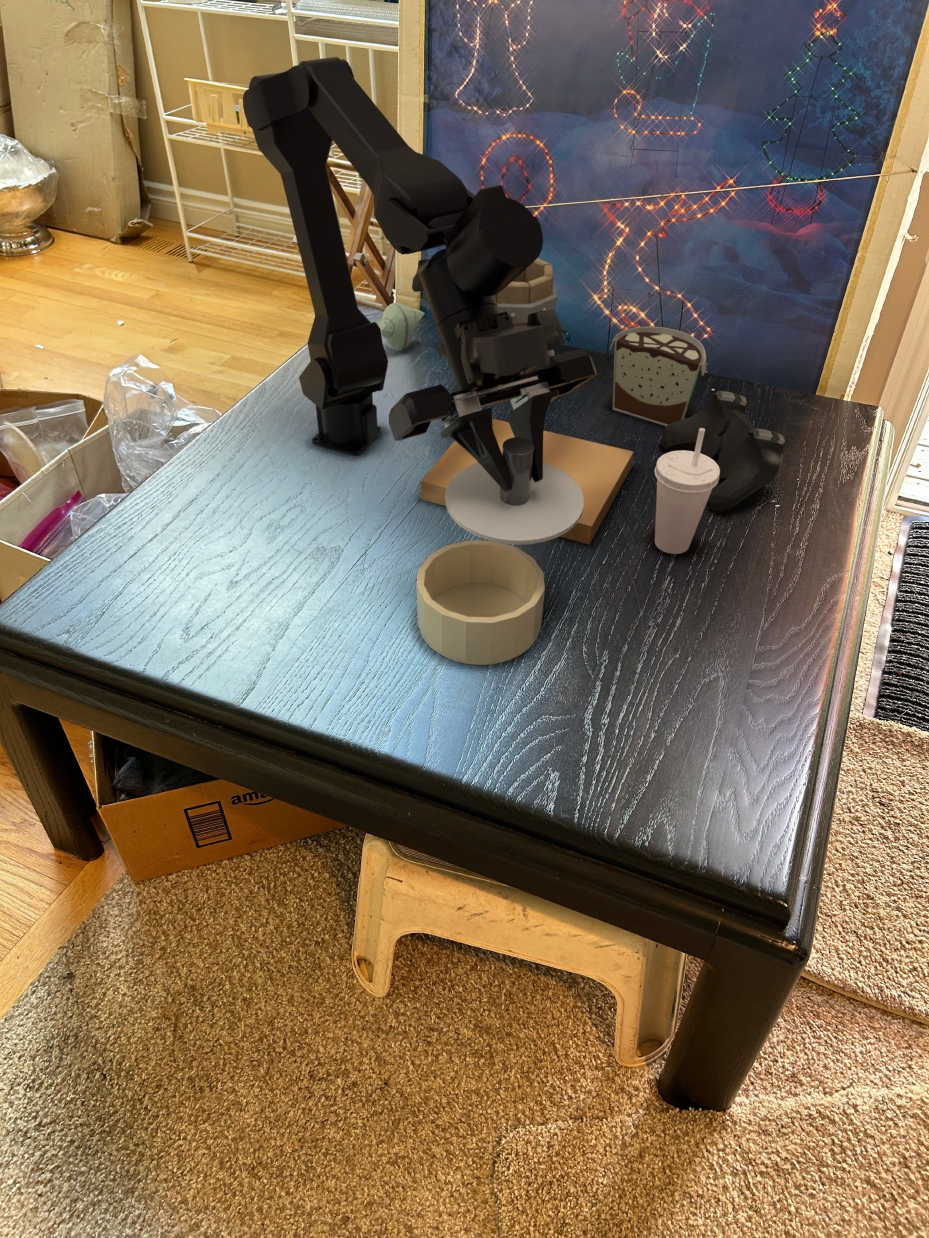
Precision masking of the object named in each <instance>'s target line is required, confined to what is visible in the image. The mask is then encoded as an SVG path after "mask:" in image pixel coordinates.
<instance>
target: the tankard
mask: <svg viewBox="0 0 929 1238" xmlns="http://www.w3.org/2000/svg"><path fill="white" fill-rule="evenodd" d="M494 297H495V300H496V303H497V306H498V309H499V312H500V313H502V312H507V313H508V315H509V316H510V317H511V319H512V322H513V325H514V326H515V327H519V326H524V325H527V321H528V315H529V314H530V313H534V312H539V311H543V310H549V309H554V310H555V311H556V307H557V300H558V295H557V290H556V282H555V281H554V268H553V265H552V264H551V263H550V262H548V261H545V260H543V259H540V258H539V257H538V258H537V259H536V260H535V261H534V262H533V263H532V264H531V265H530V266H529V267H528V268H527V269H525V270H524V271H523V272H522V273H521V274H520V275H519V276H518V277H517V278H515V279H514V280H513V281H512V282H511V283H510V284H509V285H508V286H507V287H506V288H504V289H503V290H502V291H501V292H499V293H498V294H496V295H494ZM554 355H555V351H554V349H553V350H549V351H548V356H549V357H550V356H554ZM536 367H537V366H532V367H529V368H528V369H527V370H523V371H521V372H520V375H522V374H526V373H529V372H530V371H532V370H533V369H534V368H536ZM506 390H507V389H506ZM506 390H505V391H506Z"/></svg>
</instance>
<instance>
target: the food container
mask: <svg viewBox="0 0 929 1238" xmlns="http://www.w3.org/2000/svg"><path fill="white" fill-rule="evenodd" d="M613 349H614V352H613V353H614V355H613V383H612V384H613V385H612V386H613V387H612V411H616V412H618V413H622V414H625V415H628V416H631V417H635V418H637V419H640V420H641V419H642V420H644V421H647V422H651V423H654V424H657V425H660V426H663V427H666V426H667V425H668V424H670V423H673V422H676V421H679V420H683V419H686V416H687V413H688V410H689V406H690V404H691V400H692V397H693V394H694V391H695V388H696V384H697V381H698V378H699V375H700V372H701V376H702V377H703V376H704V375H705V374H706V371H707V353H706V351H705V350H706V349H705V347H704V345H703V343H701V341H700V340H698V339H697V338H696V337H695V336H693V335H690V334H688V333H686V332H684V331H680V330H677V329H673V328H670V327H664V326H663V327H662V326H636V327H631V328H627V329H625V330H621V331H620V332H618V333H617V334H615V336H614V338H613V339H612V341H611V345H610V348H609V351H612V350H613Z"/></svg>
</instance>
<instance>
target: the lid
mask: <svg viewBox="0 0 929 1238" xmlns="http://www.w3.org/2000/svg"><path fill="white" fill-rule="evenodd" d="M502 455H503V458H504V461H505V463H506V466H507V468H508V471H509V474H510V478H511V483H512V487H513V488H512V490H510V491H507V492H505V491H504V490H503V489H502V488H501V487H500V486H499V485H498V484H497V483H496V481H495V480H494V479H493V478H492V477H491V476H490V475H489V474H488V473H487V471H486V470H485V469H484V468H483V467H482V466H481V465H480V464H479V463H475V464H473V465H470V466H468V467H466V468H464V469H463V470H461V471H460V472H458V473H457V474H456V475H455V476H454V477H453V478H452V480H451V481H450V482H449V484H448V486H447V489H446V493H445V503H446V506H445V507H446V510H447V513H448V514H449V516H450V518H451V519H452V520H453V522H455V523H456V524H457V525H458V526H459V527H460V528H462V529H463V530H464V531H466V532H467V533H469V534H471V535H472V536H475V537H478V538H481V539H483V540H485V541H493V542H498V543H504V544H507V545H517V546H521V545H534V544H540V543H544V542H548V541H550V540H554V539H557V538H560V537H559V536H561V535H563V534H565V533H566V532H568V531H569V530H570V529H572V528H573V527H574V526H575V525H576V524H577V522H578V521H579V519H580V518H581V516H582V513H583V508H584V497H583V494H582V491H581V489H580V487H579V486H578V484H577V483H576V482H575V481H574V480H573V479H572V478H571V477H570V476H569V475H567V474H566V473H565V472H563V471H561V470H560V469H558V468H556V467H554V466H551V465H549V464H546V463H543V479H542V480H541V481H539V482H534V480H533V479H532V467H533V456H534V444H533V443H532V442H531V441H530V440H528V439H525V438H521V437H514V438H509V439H507V440H506V441H504V443H503V445H502Z"/></svg>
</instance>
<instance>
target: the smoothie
mask: <svg viewBox="0 0 929 1238" xmlns="http://www.w3.org/2000/svg"><path fill="white" fill-rule="evenodd" d="M704 432H705V429H704V428H700V429H699V433H698V437H697V442H696V447H695V448H694V451H692V450H682V451H672V452H669V451H668V452H666V453H664V454H662V455H660V456H659V458H658V459H657V460H656V465H655V468H654V476H655V477H656V479H657V481H656V503H655V506H656V507H655V522H654V523H655V524H654V525H655V526H654V527H655V528H654V529H655V530H654V544H655V547H656V548H657V549H658V550H660V551H661V552H663V553H666V554H670V555H679V554H683V553H685V552H687V551H688V550H689V548H690V546H691V544H692V541H693V538H694V537H695V534H696V531H697V529H698V526H699V523H700V520H701V518H702V516H703V513H704V511H705V508H706V506H707V503H708V498H709V496H710V493H711V491H712V490H713V489H714V488H716V487H717V485H718V484H719V480H720V477H719V474H720V469H719V466H718V465H717V463H716V462H715V461H714V460H712V459H711V458H709V457H708V456H706V455H703V454H701V453H700V451H701V446H702V441H703V437H704Z"/></svg>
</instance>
